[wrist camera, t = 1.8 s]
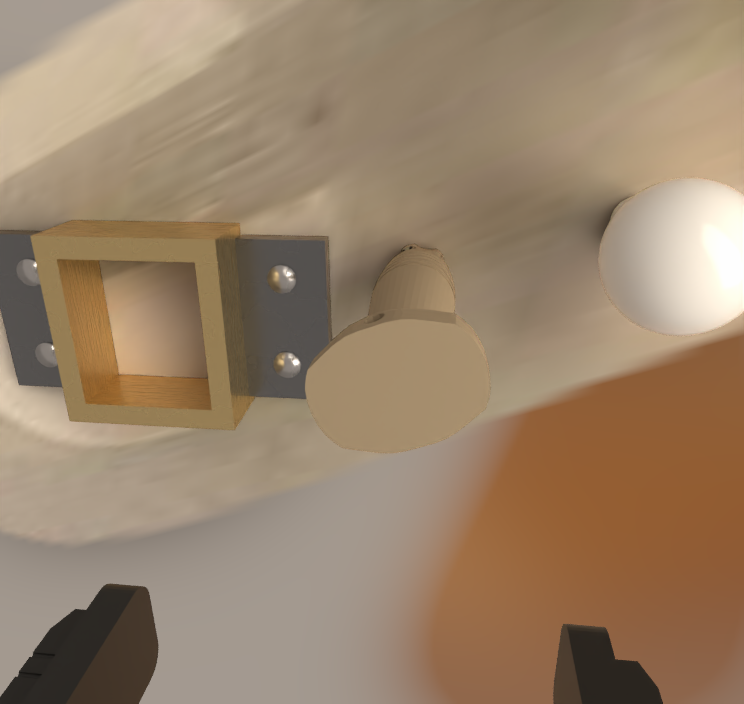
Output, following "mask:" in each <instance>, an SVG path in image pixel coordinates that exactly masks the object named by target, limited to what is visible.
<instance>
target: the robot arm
mask: <svg viewBox="0 0 744 704" xmlns="http://www.w3.org/2000/svg"><path fill="white" fill-rule="evenodd" d="M157 658H158V639H157V634H156V629H155V623H154V617H153V612H152V606H151V601H150V595H149V592H148V590H147V588H146V587H143V586H130V585H119V584H106V585H105V586H103V587H102V589H101V590H100V591H99V593H98V594H97V595H96V597H95V598H94V600H93V601H92V603H91V604H90V605H89V607H88V608H87V610H79V609H75V610H74V611H72V612H71V613H70V614H69V615H67V616H66V617H65V618H63V619H62V620H61V621H60V622H58V623H57V624H56V625H55V626H53V627H52V628H51V629H50V630H49V632H48V633H47V634H46V635H45V637H44V638H43V640H42V641H41V642H40V644H39V645H38V646H37V648H36V649H35V651H34V652H33V656H32V657H29V659H28V660H27V661H26V663H25V664H24V666H23V667H22V668H21V670H20V671H19V675H18V677H15V678H14V679H13V680H12V682H11V683H10V685H9V686H8V687H7V689H6V690H5V691H4V693H3V694H2V695H1V697H0V704H139V702H140V700H141V698H142V696H143V694H144V692H145V690H146V688H147V686H148V684H149V682H150V680H151V678H152V676H153V673H154V670H155V667H156V663H157ZM553 694H554V695H553V697H554V698H553V700H554V704H663V702H662V699H661V695H660V692H659V689H658V687H657V686H656V685H655V683H654V682H653V681H652V679H651V678H650V677H649V676H648V674H647V673H646V672H645V670H644V669H643V668H642V667H641V665H640V664H639V663H638V662H637V661H626V660H615V656H614V653H613V649H612V645H611V642H610V638H609V634H608V632H607V630H606V628H605V627H595V626H583V625H572V624H563V626H562V630H561V636H560V643H559V650H558V658H557V665H556V672H555V680H554V692H553Z"/></svg>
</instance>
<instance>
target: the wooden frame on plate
mask: <svg viewBox="0 0 744 704" xmlns="http://www.w3.org/2000/svg"><path fill="white" fill-rule="evenodd" d="M99 260H113V261H154V262H194V263H195V270H196V279H197V287H198V296H199V304H200V313H201V321H202V330H203V338H204V347H205V356H206V364H207V373H208V379H204V378H181V377H159V376H137V375H119V374H118V368H117V363H116V357H115V351H114V345H113V340H112V334H111V328H110V323H109V317H108V311H107V305H106V300H105V294H104V288H103V283H102V277H101V271H100V265H99ZM0 309H1V313H2V317H3V321H4V325H5V329H6V334H7V338H8V342H9V346H10V350H11V354H12V358H13V362H14V367H15V371H16V375H17V379H18V383H19V385H29V386H50V387H63V392H64V396H65V401H66V406H67V410H68V415H69V420H70V421H74V422H93V423H111V424H129V425H148V426H166V427H185V428H203V429H222V430H235V429H236V427H237V426H238V424H239V422H240V421H241V419H242V418H243V416H244V414H245V413H246V411H247V410H248V408H249V406H250V405H251V403H252V402H253V400H254V398H255V397H254V396H258V397H279V398H300V399H307V398H306V392H305V381H306V375H307V370H308V368H309V366H310V364H311V362H312V361H313V359H314V358H315V357H316V356H317V355H318V354H319V353H320V352H321V351H322V350H323V349H324V348H325V347H326V346H327V345H328V344H329V343H330V342H331V341H332V329H331V300H330V271H329V242H328V236H282V235H240V225H239V223H204V222H146V221H88V220H71V221H68V222H66V223H63V224H61V225H58V226H55V227H53V228H50V229H47V230H45V231H24V230H0Z"/></svg>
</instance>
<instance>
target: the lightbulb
mask: <svg viewBox="0 0 744 704" xmlns="http://www.w3.org/2000/svg"><path fill="white" fill-rule="evenodd" d="M598 267H599V275H600V279H601V283H602V286H603V288H604V291H605V293H606V295H607V296H608V298H609V300H610V301H611V303H612V304H613V305H614V307H615V308H616V309H617V310H618V311H619V312H620V313H621V314H622V315H623V316H624V317H625V318H627V319H628V320H629V321H631V322H632V323H634V324H636V325H637V326H639V327H641V328H643V329H646V330H648V331H651V332H654V333H658V334H663V335H669V336H691V335H697V334H702V333H706V332H709V331H712V330H715V329H717V328H720V327H722V326H724V325H726V324H728V323H729V322H731V321H733V320H734V319H736V318H737V317H738V316H740V315H741V314H742V313H743V312H744V195H743V194H742V193H740V192H739V191H737V190H736V189H734V188H732V187H730V186H728V185H726V184H723V183H721V182H718V181H714V180H710V179H705V178H693V177H687V178H676V179H671V180H666V181H663V182H660V183H657V184H654V185H652V186H650V187H648V188H646V189H644V190H642V191H640V192H639V193H637V194H636V195H634V196H632V197H629V198H627V199H625V200H623V201H622V202H621V203H620V204H619V205H618V206H617V207H616V208H615V209H614V211H613V213H612V215H611V218H610V222H609V224H608V226H607V228H606V230H605V232H604V234H603V237H602V240H601V244H600V248H599V256H598Z"/></svg>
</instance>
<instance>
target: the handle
mask: <svg viewBox="0 0 744 704" xmlns="http://www.w3.org/2000/svg"><path fill="white" fill-rule="evenodd" d="M443 259H444V258H443V254H442V253H441V252H440V251H439V250H438V249H424V248H420V247H418V246H417V245H416V244H411V245H408V246H406V247H404V248H403V249H402V250H401V253H400V254H398V255H397V256H395V257H394V258H393V259H392V260H391V261H390V262H389V263H388V265H387V266H386V267H385V268H384V270H383V271H382V273H381V275H380V276H379V278H378V280H377V282H376V285H375V287H374V290H373V293H372V297H371V302H370V308H369V313H368V316H367V317H365V318H363V319H361V320H359V321H357V322H355V323H353V324H351V325H350V326H348V327H347V328H346V329H345V330H343V331H342V332H341V333H340V334H339V335H338V336H336V337H335V338H334V339H333V340H332V341H331V342H330V343H329V344H328V345H327V346H326V347H325V348H324V349H323V350H322V351H321V352H320V353H319V354H318V355H317V356H316V357H315V358H314V359H313V361H312V362H311V364H310V366H309V368H308V370H307V375H306V381H305V392H306V398H307V403H308V405H309V408H310V411H311V414H312V416H313V417H314V419H315V421H316V423H317V425H318V426H319V427H320V429H321V430H322V431H323V433H324V434H325V435H326V436H327V437H328V438H329V439H331V440H332V441H333V442H334V443H336V444H337V445H339V446H340V447H342V448H345V449H352V450H359V451H367V452H375V453H397V452H403V451H408V450H412V449H416V448H420V447H423V446H427V445H431V444H434V443H437V442H439V441H442V440H445V439H447V438H448V437H450V436H452V435H453V434H455V433H456V432H458V431H459V430H460V429H462V428H463V427H464V426H465V425H467V424H468V423H469V422H470V421H472V420H473V419H474V418H475V417H476V416H478V415H479V414H480V413H481V412H482V411H484V410H485V409H486V406H487V403H488V400H489V395H490V390H491V387H490V373H489V366H488V362H487V358H486V354H485V351H484V349H483V346H482V344H481V342H480V339H479V338H478V336H477V335H476V333H475V332H474V330H473V329H472V327H471V326H469V325H468V324H467V323H466V322H465V321H464V320H463V319H462V318H460V317H459V316H458V315H456V314H455V313H454V311H455V287H454V283H453V279H452V275H451V273H450V271H449V268H448V266H447V265H446V263H445V262H444V261H443Z"/></svg>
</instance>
